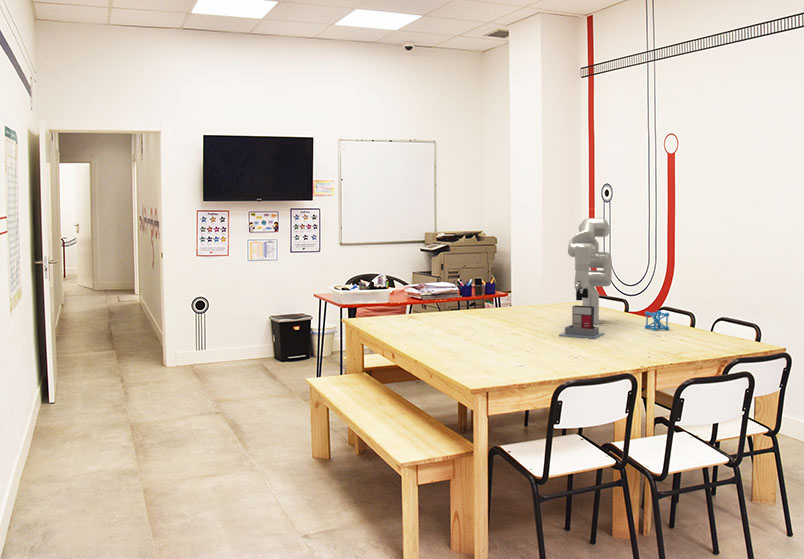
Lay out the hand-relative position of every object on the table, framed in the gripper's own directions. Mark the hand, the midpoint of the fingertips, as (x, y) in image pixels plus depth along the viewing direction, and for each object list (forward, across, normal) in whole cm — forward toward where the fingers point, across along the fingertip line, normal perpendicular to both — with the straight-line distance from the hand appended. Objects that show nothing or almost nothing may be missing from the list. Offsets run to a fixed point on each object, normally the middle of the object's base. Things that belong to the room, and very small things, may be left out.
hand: (582, 299), depth 396 cm
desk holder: (+20, +1, 0) cm, 20 cm away
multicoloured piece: (+19, -1, 0) cm, 19 cm away
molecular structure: (+21, -35, +31) cm, 51 cm away
